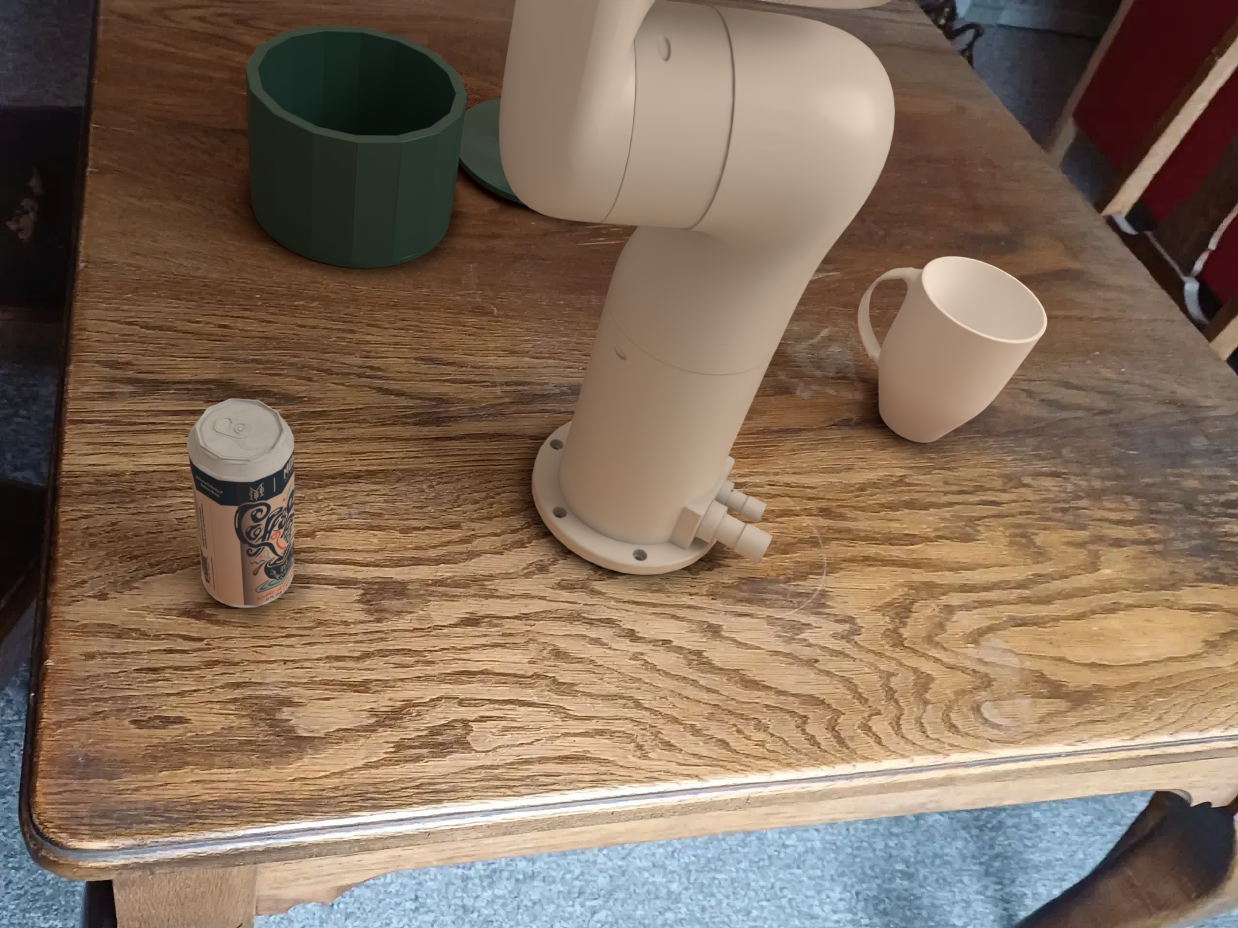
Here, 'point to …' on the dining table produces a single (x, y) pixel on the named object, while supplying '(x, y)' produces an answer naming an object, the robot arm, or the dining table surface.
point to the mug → (950, 344)
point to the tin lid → (484, 148)
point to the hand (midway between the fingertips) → (550, 131)
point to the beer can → (243, 501)
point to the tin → (353, 144)
